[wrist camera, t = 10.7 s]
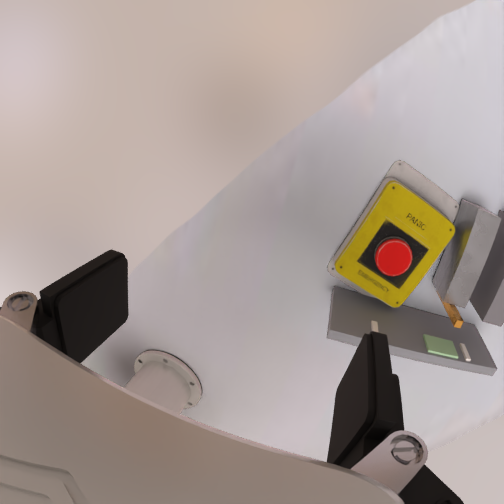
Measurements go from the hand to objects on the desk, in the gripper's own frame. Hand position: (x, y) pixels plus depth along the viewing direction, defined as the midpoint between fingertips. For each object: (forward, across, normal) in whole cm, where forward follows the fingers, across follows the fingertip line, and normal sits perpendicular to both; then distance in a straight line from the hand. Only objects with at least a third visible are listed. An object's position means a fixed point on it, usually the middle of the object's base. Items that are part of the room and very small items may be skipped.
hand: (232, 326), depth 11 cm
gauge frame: (+24, -15, +2) cm, 29 cm away
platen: (+24, -18, 0) cm, 30 cm away
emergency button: (+25, -10, +2) cm, 27 cm away
